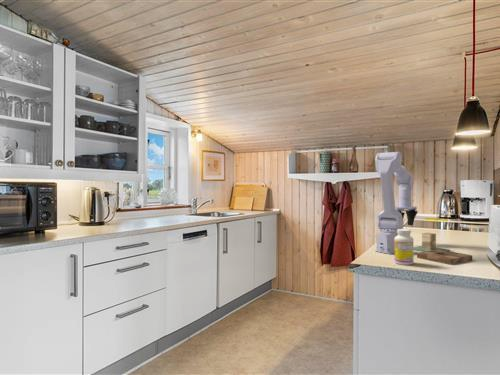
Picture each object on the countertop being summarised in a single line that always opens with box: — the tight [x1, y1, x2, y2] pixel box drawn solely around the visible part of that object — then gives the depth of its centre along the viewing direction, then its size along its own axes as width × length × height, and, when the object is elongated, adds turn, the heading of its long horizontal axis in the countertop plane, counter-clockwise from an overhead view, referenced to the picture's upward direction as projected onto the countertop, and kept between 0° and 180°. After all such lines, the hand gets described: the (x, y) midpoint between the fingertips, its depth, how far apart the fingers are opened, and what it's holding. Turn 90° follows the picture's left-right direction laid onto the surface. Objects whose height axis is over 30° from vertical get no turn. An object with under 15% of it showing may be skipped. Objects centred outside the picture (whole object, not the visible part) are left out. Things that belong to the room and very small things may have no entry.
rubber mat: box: [413, 245, 451, 252], centre depth 159 cm, size 12×12×1 cm
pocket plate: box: [416, 250, 473, 265], centre depth 140 cm, size 14×14×2 cm
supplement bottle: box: [394, 228, 415, 266], centre depth 133 cm, size 7×7×13 cm
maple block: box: [421, 232, 437, 250], centre depth 159 cm, size 4×4×7 cm
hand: (405, 225), depth 172 cm, fingers open, 7 cm apart
